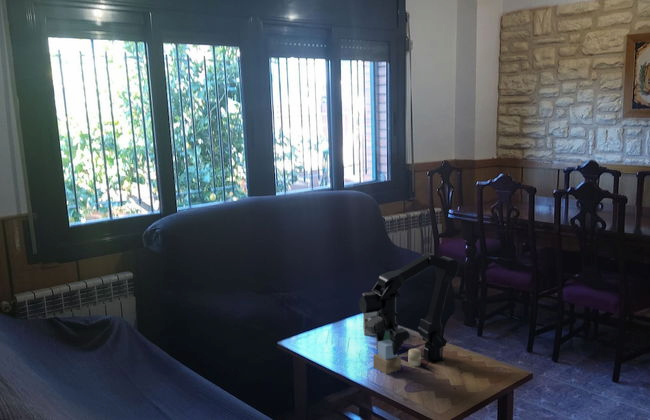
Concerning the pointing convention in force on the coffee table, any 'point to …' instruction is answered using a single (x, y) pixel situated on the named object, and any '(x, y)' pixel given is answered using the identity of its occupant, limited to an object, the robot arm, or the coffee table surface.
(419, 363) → the beech cylinder
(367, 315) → the coffee box
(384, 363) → the tan block
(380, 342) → the blue cube
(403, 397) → the coffee table surface
